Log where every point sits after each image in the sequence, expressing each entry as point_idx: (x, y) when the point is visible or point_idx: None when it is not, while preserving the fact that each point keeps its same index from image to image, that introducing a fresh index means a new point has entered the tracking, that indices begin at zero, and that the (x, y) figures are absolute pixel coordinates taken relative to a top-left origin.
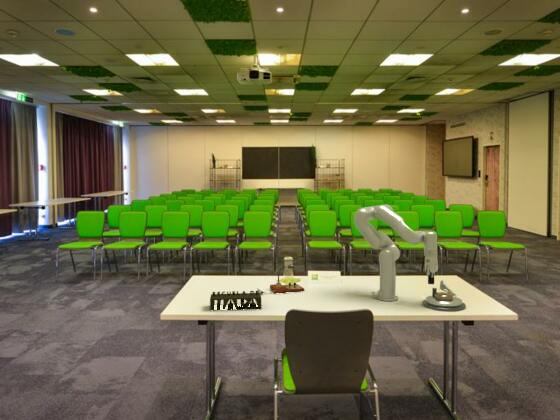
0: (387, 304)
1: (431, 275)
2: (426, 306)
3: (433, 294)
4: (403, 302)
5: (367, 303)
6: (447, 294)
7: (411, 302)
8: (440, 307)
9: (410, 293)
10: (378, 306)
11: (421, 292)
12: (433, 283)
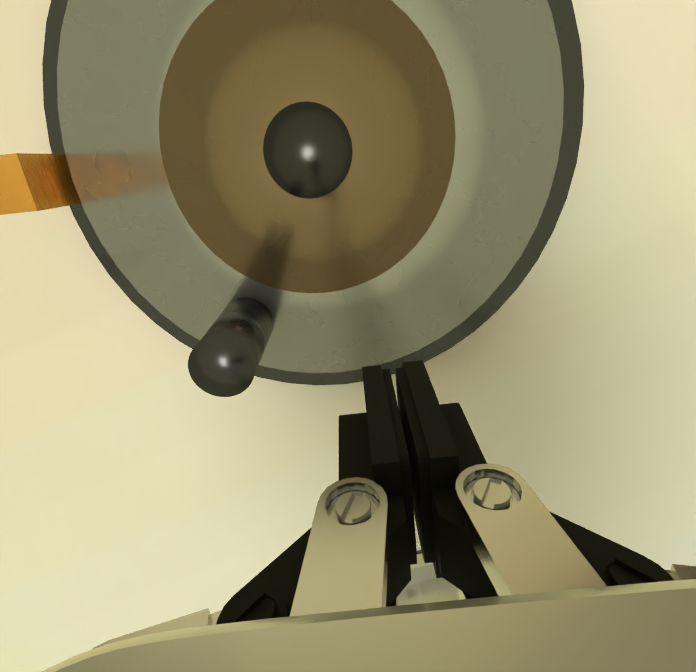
0: None
1: (555, 544)
2: (526, 267)
3: (268, 333)
4: None
5: None
6: (271, 95)
7: None
8: None
9: (151, 570)
10: (691, 558)
11: (39, 530)
12: (419, 365)
